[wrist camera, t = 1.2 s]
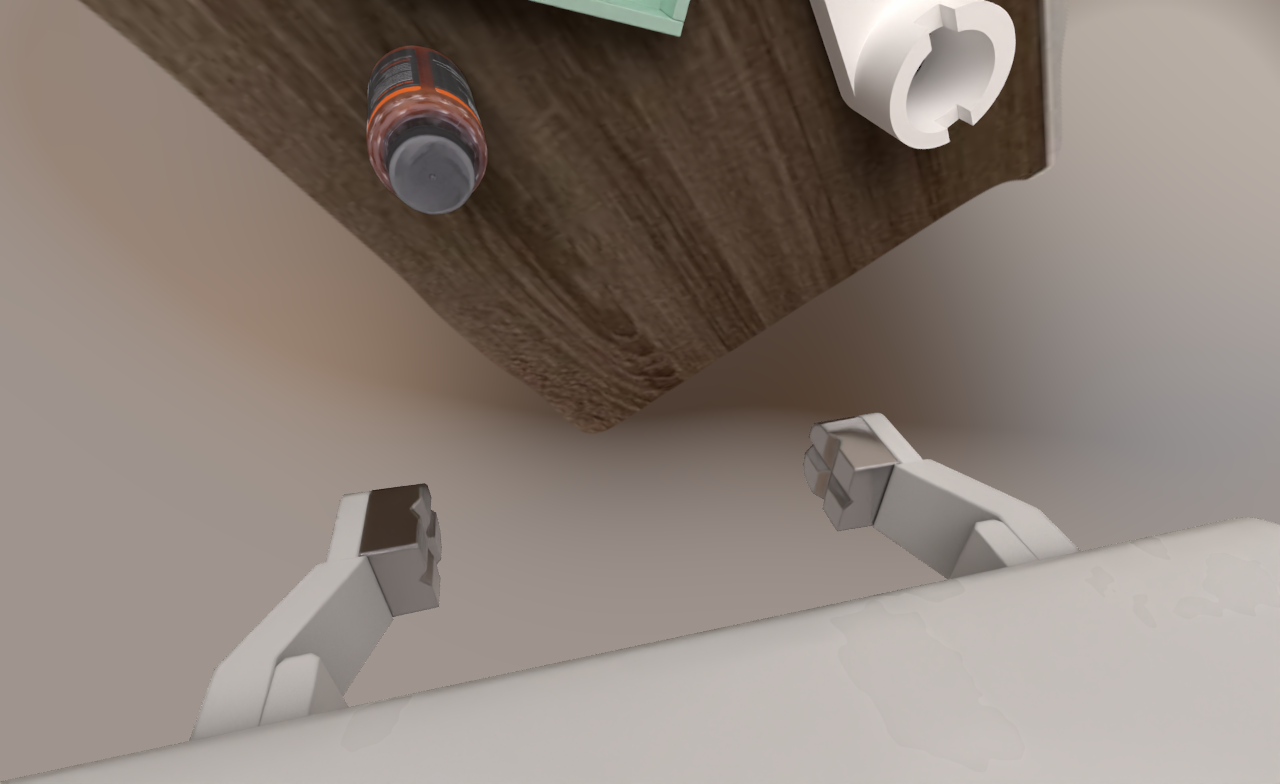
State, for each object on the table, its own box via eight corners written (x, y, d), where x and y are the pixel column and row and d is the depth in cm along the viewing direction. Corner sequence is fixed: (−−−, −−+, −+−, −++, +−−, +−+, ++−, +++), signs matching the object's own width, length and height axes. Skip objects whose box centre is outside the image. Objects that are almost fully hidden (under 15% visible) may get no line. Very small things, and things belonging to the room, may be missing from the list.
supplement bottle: (351, 113, 36) (342, 197, 28) (393, 18, 34) (395, 83, 26) (445, 163, 40) (460, 251, 32) (489, 82, 37) (517, 155, 30)
